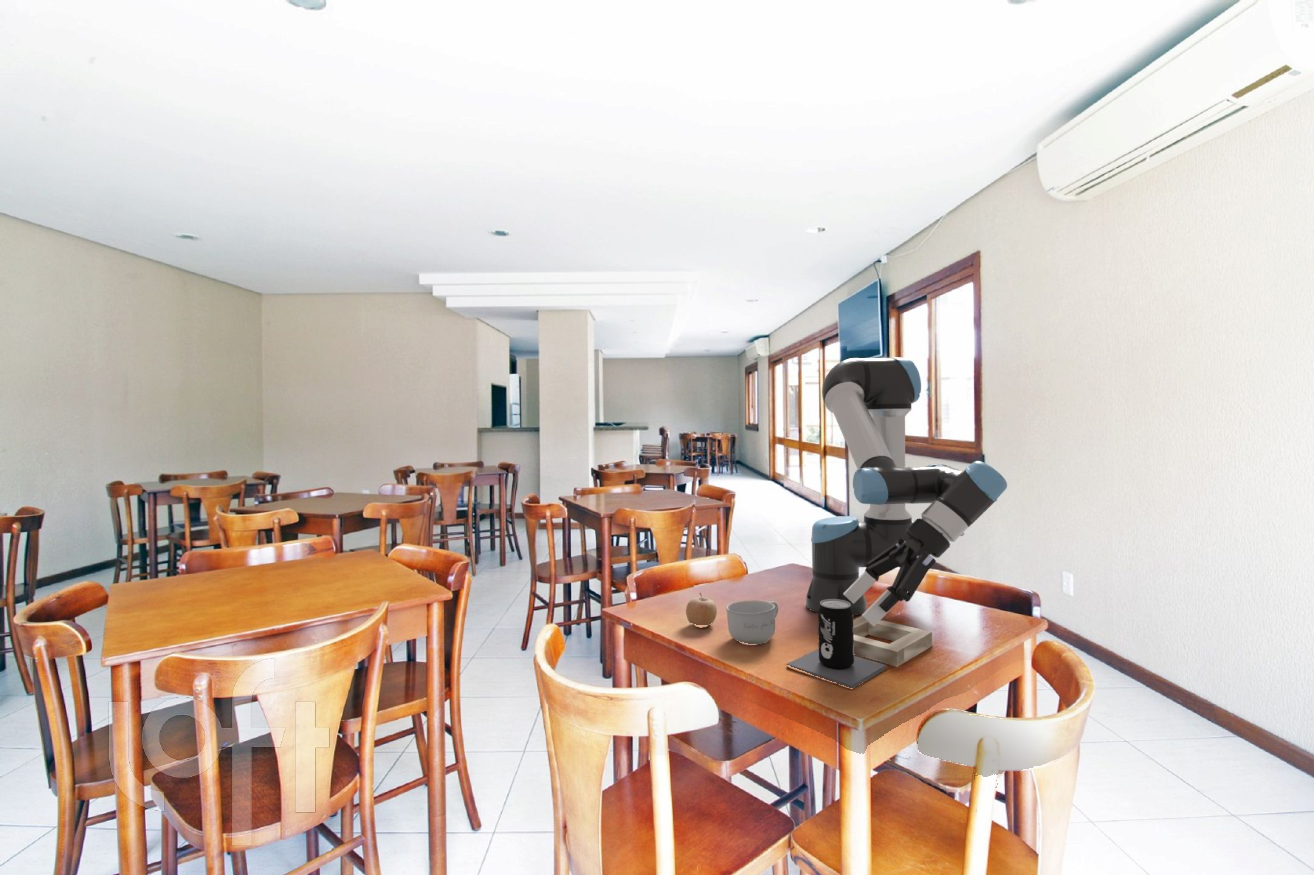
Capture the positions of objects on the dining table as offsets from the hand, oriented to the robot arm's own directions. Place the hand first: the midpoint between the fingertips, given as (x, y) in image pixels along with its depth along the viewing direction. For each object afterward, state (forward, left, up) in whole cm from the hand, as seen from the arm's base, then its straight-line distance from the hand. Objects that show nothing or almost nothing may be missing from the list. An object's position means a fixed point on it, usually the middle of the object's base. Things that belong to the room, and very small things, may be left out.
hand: (857, 609), depth 116 cm
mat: (-4, -2, -12) cm, 13 cm away
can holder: (-4, +15, -12) cm, 19 cm away
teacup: (-25, 0, -12) cm, 27 cm away
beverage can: (-4, -2, -11) cm, 12 cm away
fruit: (-40, -2, -12) cm, 41 cm away
